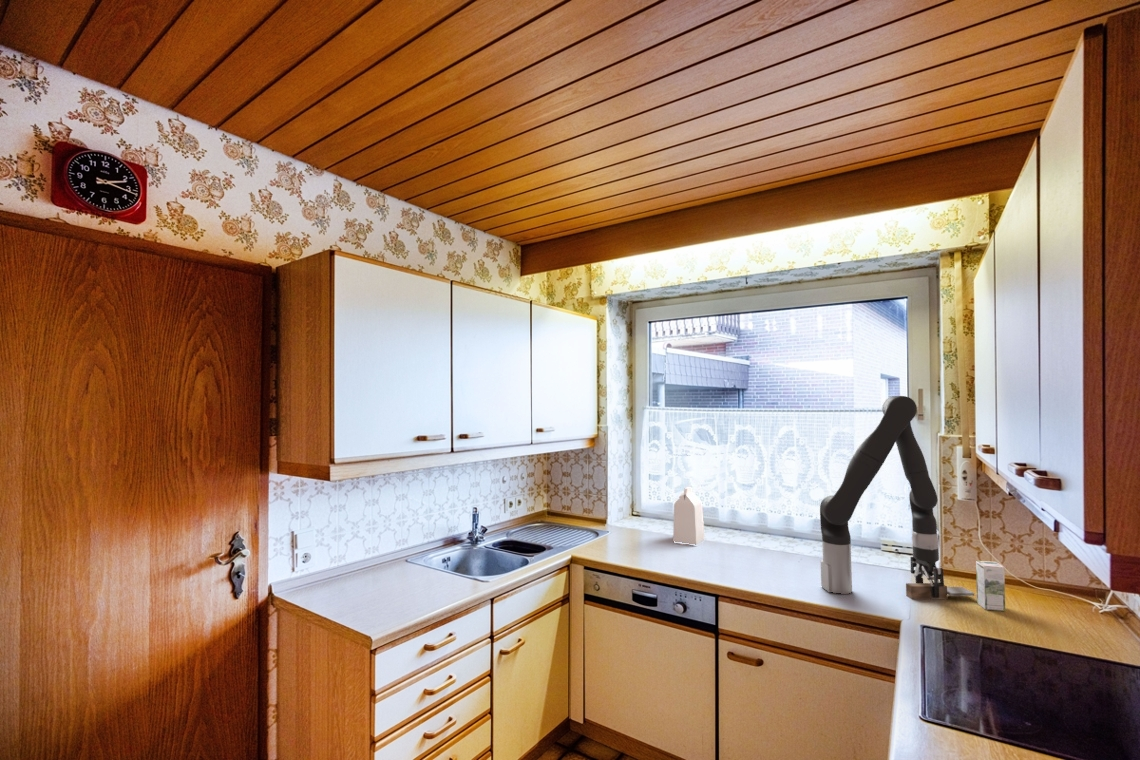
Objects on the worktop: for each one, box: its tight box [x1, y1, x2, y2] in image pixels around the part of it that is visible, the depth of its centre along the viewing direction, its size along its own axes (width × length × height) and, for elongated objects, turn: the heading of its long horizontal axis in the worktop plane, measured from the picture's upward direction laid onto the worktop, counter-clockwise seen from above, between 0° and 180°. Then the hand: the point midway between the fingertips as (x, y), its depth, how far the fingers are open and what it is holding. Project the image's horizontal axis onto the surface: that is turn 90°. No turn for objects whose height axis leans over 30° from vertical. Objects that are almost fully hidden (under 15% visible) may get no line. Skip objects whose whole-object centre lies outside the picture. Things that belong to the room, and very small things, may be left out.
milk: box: [672, 486, 706, 545], centre depth 256 cm, size 12×12×26 cm
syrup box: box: [975, 560, 1006, 612], centre depth 173 cm, size 6×6×14 cm
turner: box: [905, 582, 975, 600], centre depth 183 cm, size 20×6×4 cm, turn 88°
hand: (927, 592), depth 183 cm, fingers open, 8 cm apart
